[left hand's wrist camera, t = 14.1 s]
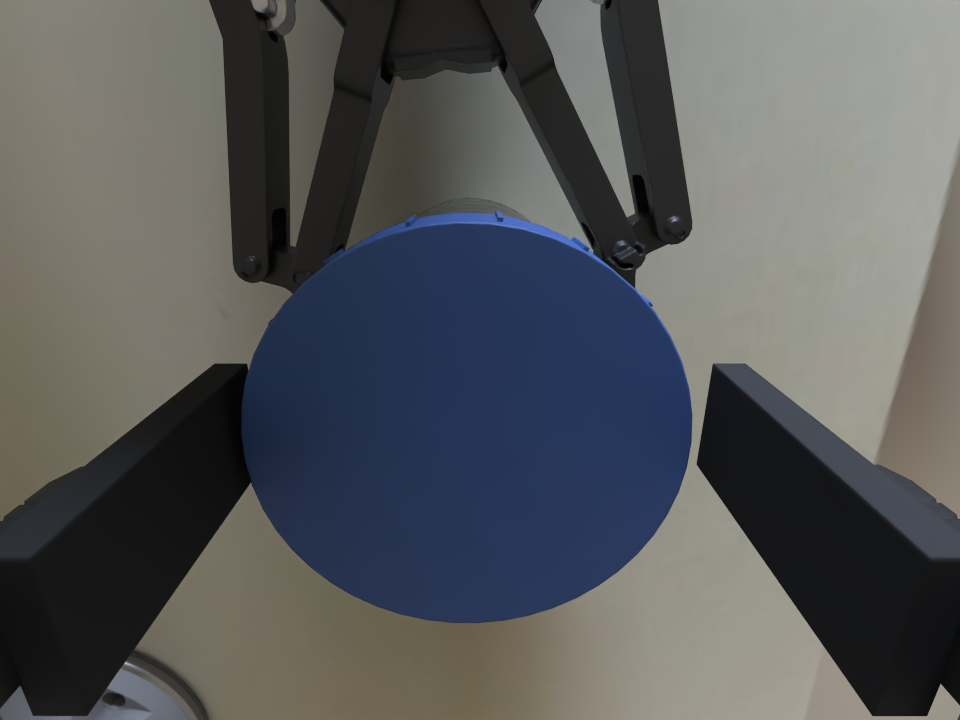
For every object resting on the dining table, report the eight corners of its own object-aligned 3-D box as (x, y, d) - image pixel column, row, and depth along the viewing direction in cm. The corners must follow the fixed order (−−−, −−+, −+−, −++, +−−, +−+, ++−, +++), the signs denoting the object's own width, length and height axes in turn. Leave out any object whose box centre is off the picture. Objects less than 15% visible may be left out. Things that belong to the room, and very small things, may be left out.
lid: (497, 107, 11) (502, 97, 9) (741, 434, 14) (780, 474, 12) (185, 390, 13) (141, 425, 11) (450, 625, 16) (447, 684, 14)
